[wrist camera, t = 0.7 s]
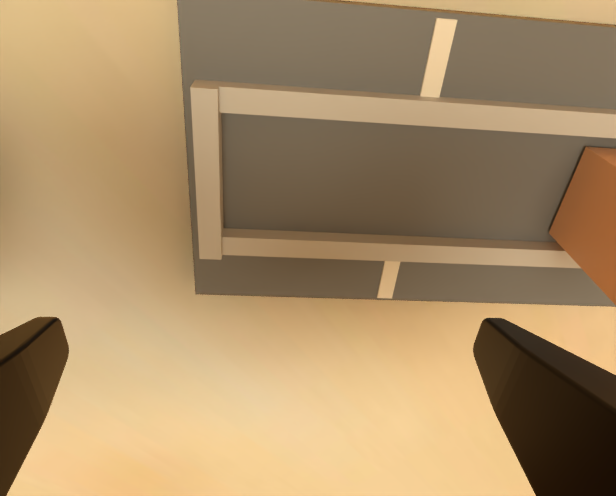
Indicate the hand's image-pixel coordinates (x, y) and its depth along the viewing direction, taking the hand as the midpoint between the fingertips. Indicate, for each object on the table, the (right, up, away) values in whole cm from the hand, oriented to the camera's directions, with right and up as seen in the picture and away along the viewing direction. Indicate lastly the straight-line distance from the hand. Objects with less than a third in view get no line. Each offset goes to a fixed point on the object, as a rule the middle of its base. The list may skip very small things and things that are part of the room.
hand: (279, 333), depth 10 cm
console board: (+7, +5, +12) cm, 15 cm away
